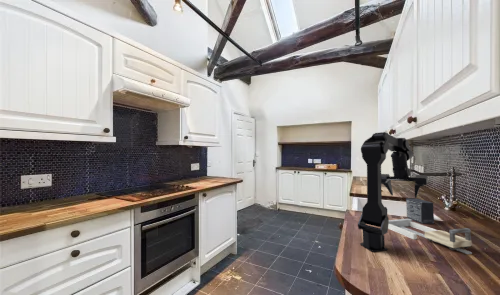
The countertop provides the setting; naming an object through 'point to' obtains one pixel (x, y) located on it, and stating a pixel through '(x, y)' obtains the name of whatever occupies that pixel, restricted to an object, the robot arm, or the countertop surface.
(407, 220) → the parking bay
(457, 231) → the beige hollow block
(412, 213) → the small box
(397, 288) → the countertop surface
